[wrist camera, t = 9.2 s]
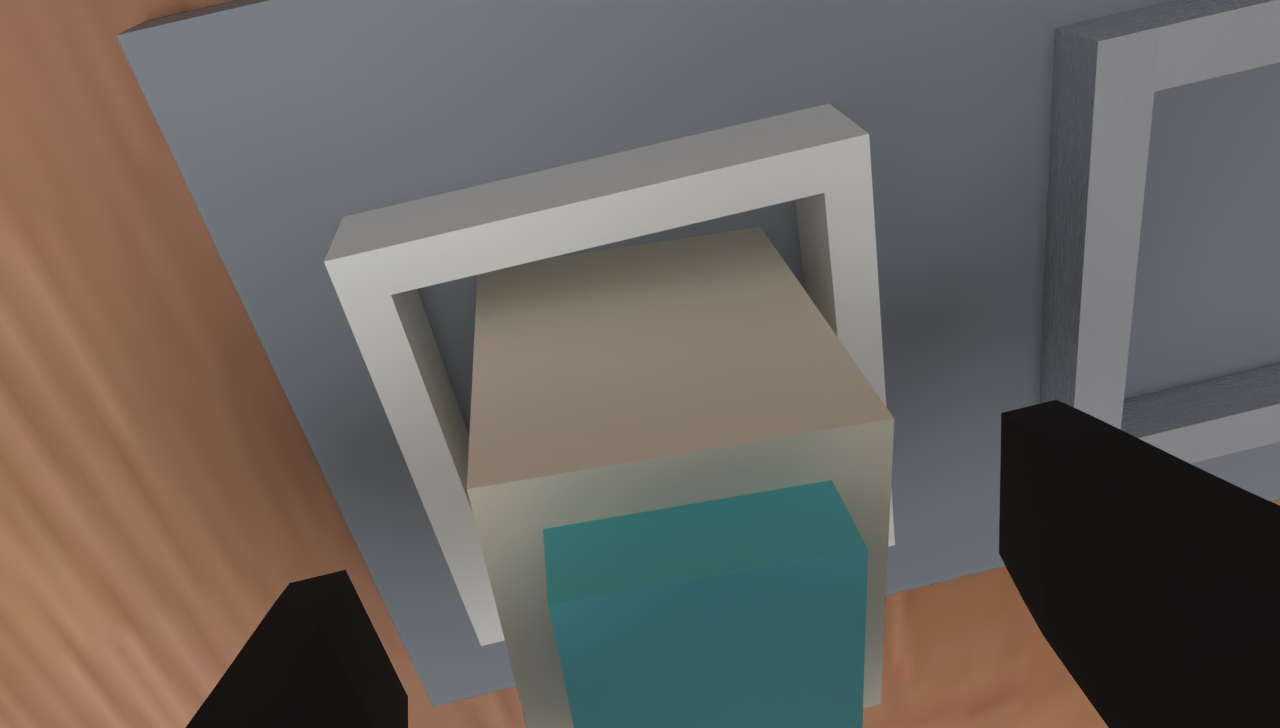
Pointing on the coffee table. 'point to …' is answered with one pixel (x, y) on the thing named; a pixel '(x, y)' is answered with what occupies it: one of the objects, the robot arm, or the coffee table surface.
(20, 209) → the coffee table surface
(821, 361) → the plug
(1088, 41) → the frame
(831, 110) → the port
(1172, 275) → the panel plate
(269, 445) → the coffee table surface
